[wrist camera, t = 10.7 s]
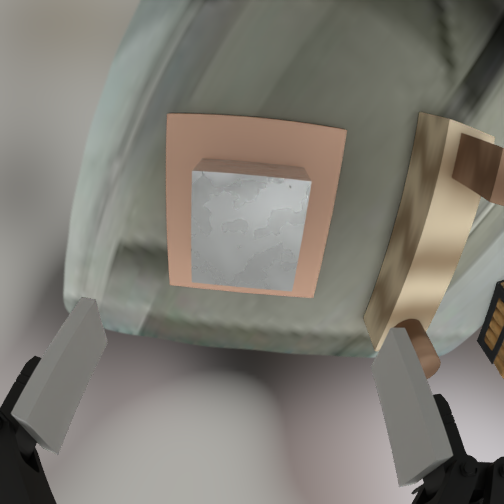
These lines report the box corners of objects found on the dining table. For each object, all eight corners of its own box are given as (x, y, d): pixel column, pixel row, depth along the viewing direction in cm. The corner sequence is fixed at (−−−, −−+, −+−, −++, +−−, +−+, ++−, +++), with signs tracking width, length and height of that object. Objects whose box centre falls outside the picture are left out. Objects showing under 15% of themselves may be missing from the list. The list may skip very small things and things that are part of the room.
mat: (169, 113, 22) (167, 113, 22) (344, 129, 23) (347, 130, 22) (171, 280, 30) (169, 284, 30) (312, 293, 31) (313, 297, 30)
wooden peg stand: (419, 111, 21) (492, 131, 13) (462, 126, 21) (536, 153, 13) (363, 318, 32) (387, 390, 23) (401, 319, 32) (431, 386, 23)
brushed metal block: (202, 158, 24) (192, 170, 20) (303, 167, 24) (311, 181, 20) (200, 257, 28) (191, 282, 24) (288, 265, 28) (292, 291, 25)
